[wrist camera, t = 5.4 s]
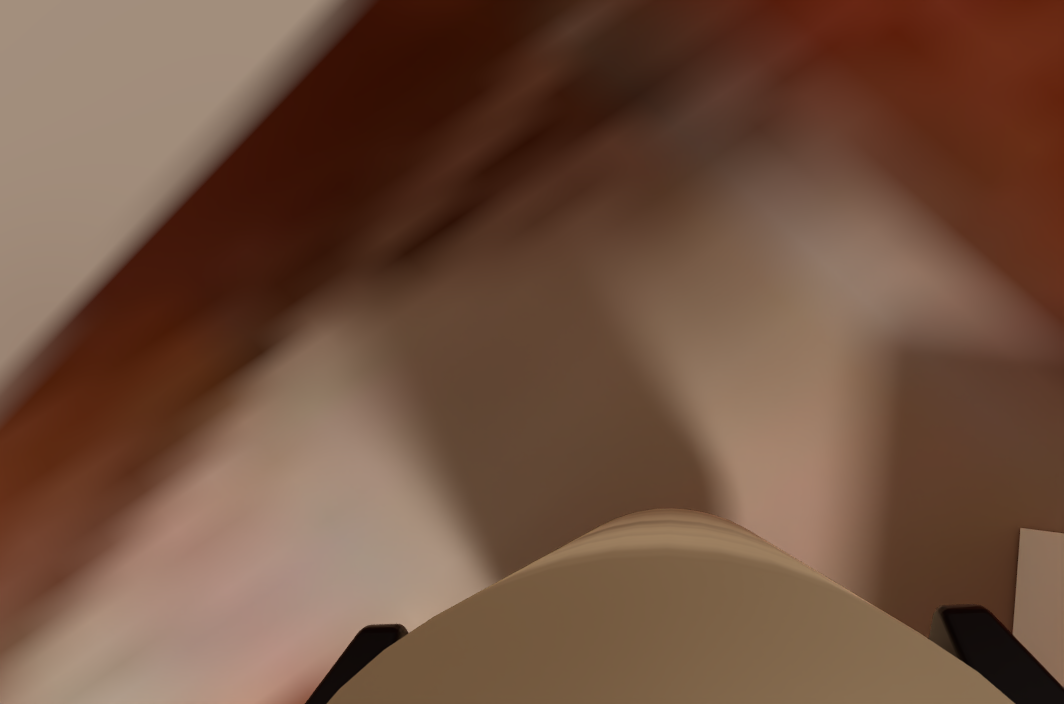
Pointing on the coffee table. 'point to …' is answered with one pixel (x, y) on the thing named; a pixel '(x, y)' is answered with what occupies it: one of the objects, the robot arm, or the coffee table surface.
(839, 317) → the coffee table surface
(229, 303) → the coffee table surface
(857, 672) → the beech pin
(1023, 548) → the socket block
